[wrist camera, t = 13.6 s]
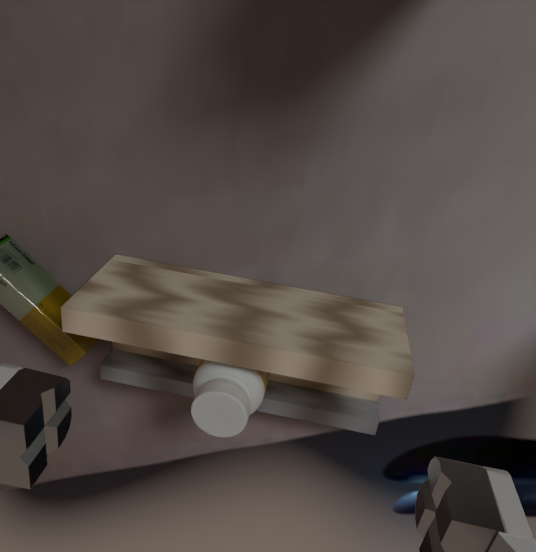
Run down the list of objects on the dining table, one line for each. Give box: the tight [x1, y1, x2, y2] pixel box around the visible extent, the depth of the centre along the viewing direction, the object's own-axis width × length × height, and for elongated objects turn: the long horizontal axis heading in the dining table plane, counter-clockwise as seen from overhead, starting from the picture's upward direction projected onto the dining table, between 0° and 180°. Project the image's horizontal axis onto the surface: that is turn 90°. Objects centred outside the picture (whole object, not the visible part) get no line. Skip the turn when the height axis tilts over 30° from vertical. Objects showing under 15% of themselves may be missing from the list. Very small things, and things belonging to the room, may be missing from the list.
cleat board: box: [61, 255, 414, 435], centre depth 40 cm, size 24×11×9 cm, turn 82°
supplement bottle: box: [191, 359, 270, 437], centre depth 39 cm, size 5×5×10 cm
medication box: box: [0, 234, 97, 365], centre depth 44 cm, size 12×3×4 cm, turn 41°
